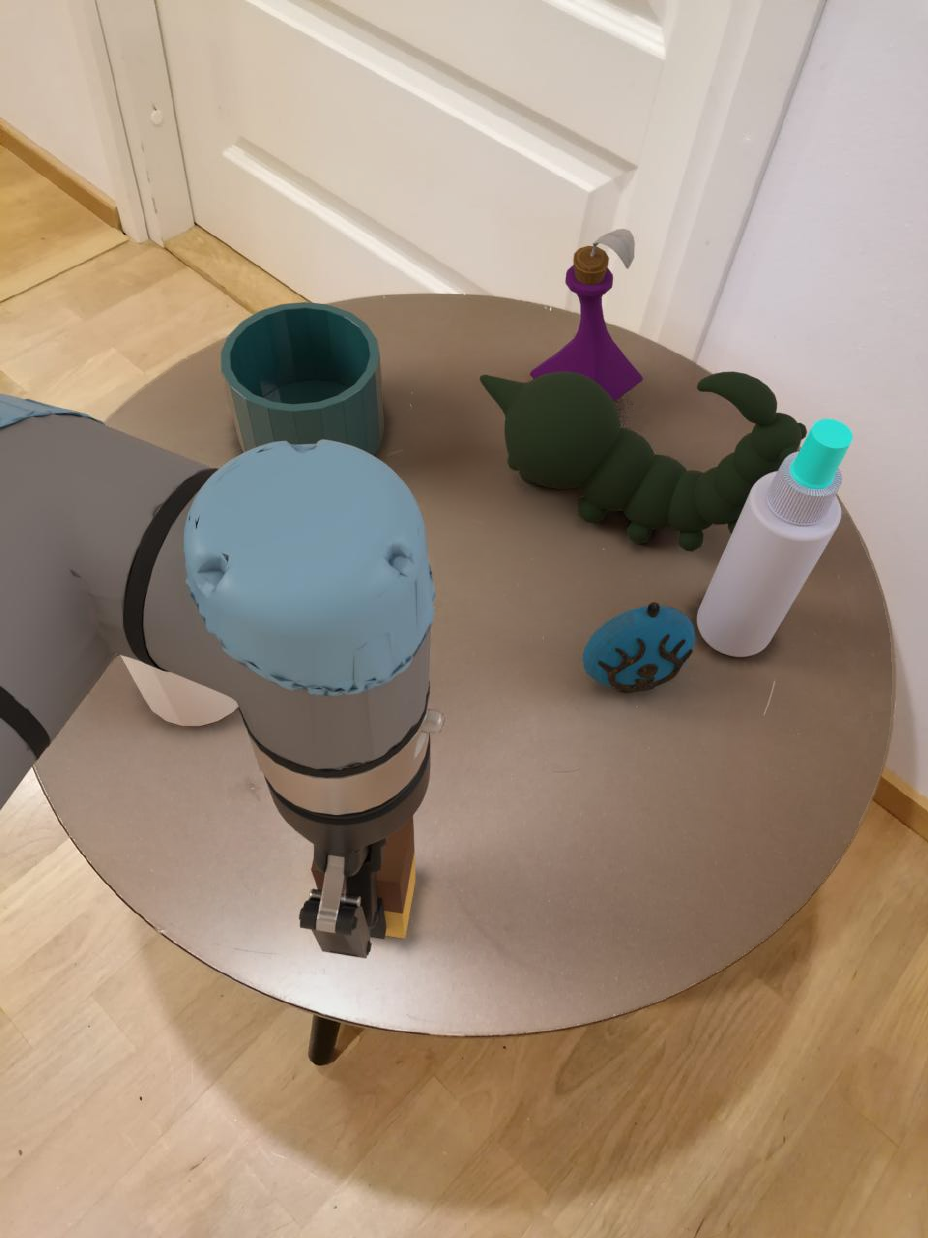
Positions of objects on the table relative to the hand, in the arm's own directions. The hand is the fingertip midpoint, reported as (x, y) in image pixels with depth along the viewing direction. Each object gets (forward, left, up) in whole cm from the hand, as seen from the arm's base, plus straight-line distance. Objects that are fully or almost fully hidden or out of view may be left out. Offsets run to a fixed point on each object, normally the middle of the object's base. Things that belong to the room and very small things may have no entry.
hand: (371, 893), depth 60 cm
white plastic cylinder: (-16, +14, -2) cm, 22 cm away
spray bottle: (+24, +26, -2) cm, 35 cm away
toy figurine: (+13, +37, -2) cm, 39 cm away
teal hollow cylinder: (-14, +41, -2) cm, 43 cm away
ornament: (+16, +20, -2) cm, 26 cm away
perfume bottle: (+10, +49, -2) cm, 50 cm away
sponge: (0, 0, -2) cm, 2 cm away
